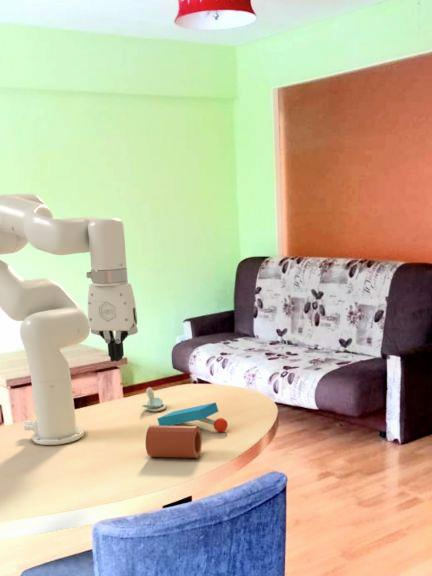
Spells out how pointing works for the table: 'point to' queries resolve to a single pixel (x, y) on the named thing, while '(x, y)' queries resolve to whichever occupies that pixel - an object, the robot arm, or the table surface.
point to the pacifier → (153, 401)
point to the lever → (194, 417)
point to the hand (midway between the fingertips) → (116, 359)
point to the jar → (173, 441)
